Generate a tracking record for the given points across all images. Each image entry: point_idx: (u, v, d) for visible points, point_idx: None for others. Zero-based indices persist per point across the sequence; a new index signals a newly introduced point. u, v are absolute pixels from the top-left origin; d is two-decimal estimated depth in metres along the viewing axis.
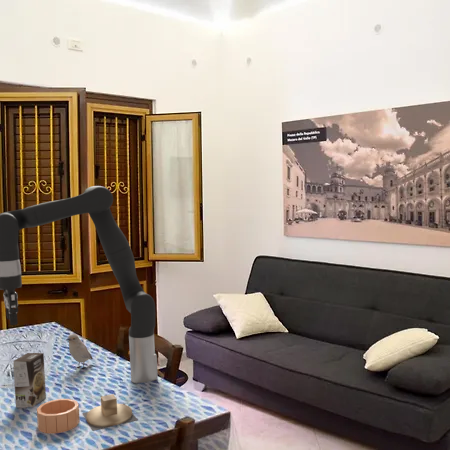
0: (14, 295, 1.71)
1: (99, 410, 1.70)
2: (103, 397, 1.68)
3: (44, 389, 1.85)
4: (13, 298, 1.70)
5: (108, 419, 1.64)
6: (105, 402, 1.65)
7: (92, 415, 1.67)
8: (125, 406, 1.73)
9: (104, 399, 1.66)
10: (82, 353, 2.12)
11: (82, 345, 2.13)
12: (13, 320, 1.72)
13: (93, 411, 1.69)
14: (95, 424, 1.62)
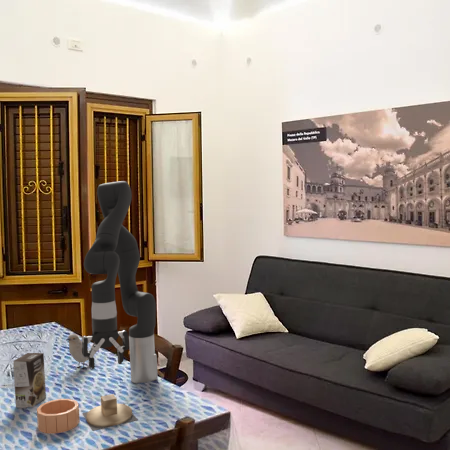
0: (125, 331, 1.69)
1: (99, 410, 1.70)
2: (103, 397, 1.68)
3: (44, 389, 1.85)
4: None
5: (108, 419, 1.64)
6: (105, 402, 1.65)
7: (92, 415, 1.67)
8: (125, 406, 1.73)
9: (104, 399, 1.66)
10: None
11: None
12: None
13: (93, 411, 1.69)
14: (95, 424, 1.62)
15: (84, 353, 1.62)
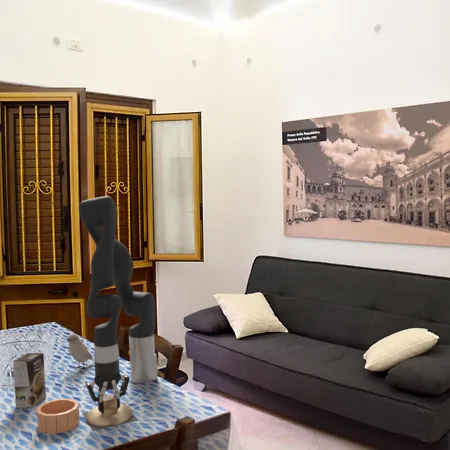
0: None
1: None
2: (103, 397, 1.68)
3: (44, 389, 1.85)
4: None
5: (108, 419, 1.64)
6: (105, 402, 1.65)
7: (92, 415, 1.67)
8: (125, 406, 1.73)
9: (104, 399, 1.66)
10: (82, 353, 2.12)
11: (82, 345, 2.13)
12: None
13: (93, 411, 1.69)
14: (95, 424, 1.62)
15: (94, 398, 1.64)
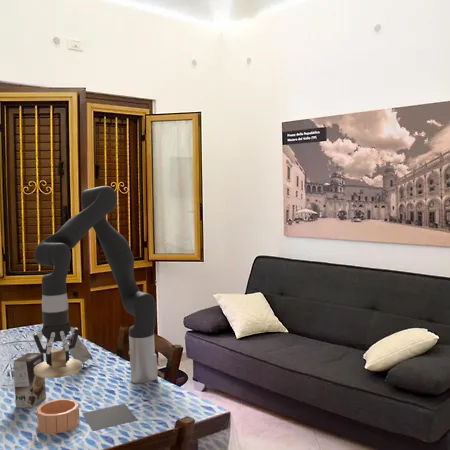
0: None
1: None
2: (52, 349, 1.62)
3: (44, 389, 1.85)
4: None
5: (55, 370, 1.58)
6: (53, 354, 1.59)
7: (40, 367, 1.61)
8: (75, 360, 1.67)
9: (52, 351, 1.61)
10: (82, 353, 2.12)
11: (82, 345, 2.13)
12: None
13: (41, 364, 1.64)
14: (41, 375, 1.56)
15: (40, 349, 1.59)
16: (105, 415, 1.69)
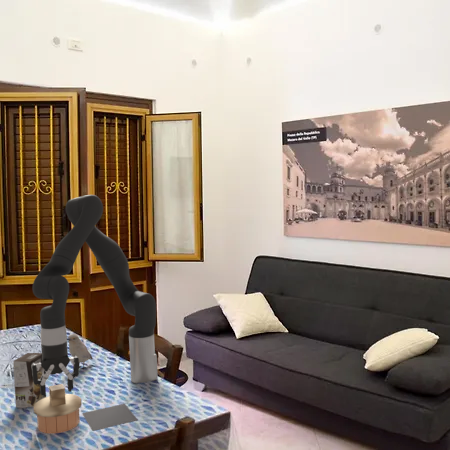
0: (77, 357, 1.66)
1: (48, 400, 1.65)
2: (51, 387, 1.63)
3: None
4: None
5: (55, 409, 1.59)
6: (52, 392, 1.61)
7: (39, 405, 1.62)
8: (75, 396, 1.68)
9: (52, 389, 1.62)
10: (82, 353, 2.12)
11: (82, 345, 2.13)
12: None
13: (41, 401, 1.65)
14: (41, 414, 1.57)
15: (35, 381, 1.59)
16: (105, 415, 1.69)
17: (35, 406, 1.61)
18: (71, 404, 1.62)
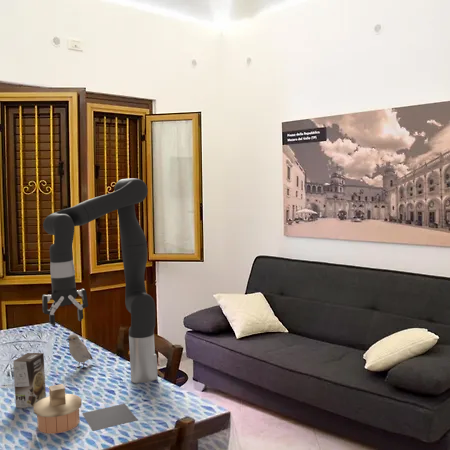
0: (84, 289, 1.78)
1: (48, 400, 1.65)
2: (51, 387, 1.63)
3: (44, 389, 1.85)
4: None
5: (55, 409, 1.59)
6: (52, 392, 1.61)
7: (39, 405, 1.62)
8: (75, 396, 1.68)
9: (52, 389, 1.62)
10: (82, 353, 2.12)
11: (82, 345, 2.13)
12: None
13: (41, 401, 1.65)
14: (41, 414, 1.57)
15: (44, 311, 1.71)
16: (105, 415, 1.69)
17: (35, 406, 1.61)
18: (71, 404, 1.62)
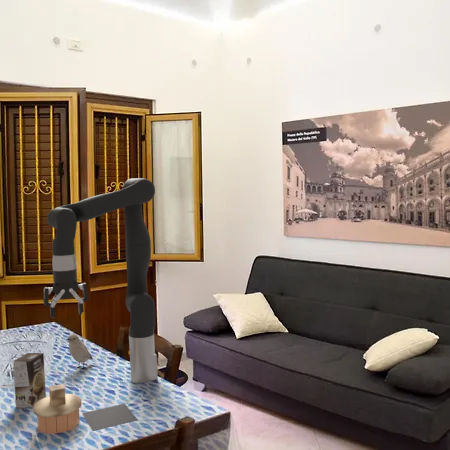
0: (85, 283, 1.81)
1: (48, 400, 1.65)
2: (51, 387, 1.63)
3: (44, 389, 1.85)
4: None
5: (55, 409, 1.59)
6: (52, 392, 1.61)
7: (39, 405, 1.62)
8: (75, 396, 1.68)
9: (52, 389, 1.62)
10: (82, 353, 2.12)
11: (82, 345, 2.13)
12: None
13: (41, 401, 1.65)
14: (41, 414, 1.57)
15: (45, 303, 1.73)
16: (105, 415, 1.69)
17: (35, 406, 1.61)
18: (71, 404, 1.62)
